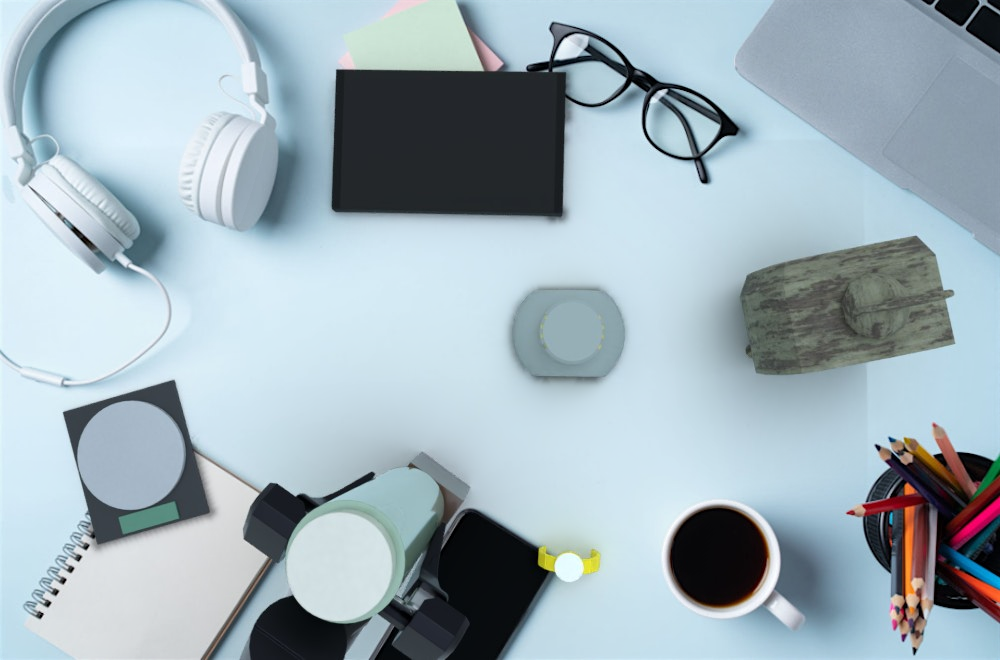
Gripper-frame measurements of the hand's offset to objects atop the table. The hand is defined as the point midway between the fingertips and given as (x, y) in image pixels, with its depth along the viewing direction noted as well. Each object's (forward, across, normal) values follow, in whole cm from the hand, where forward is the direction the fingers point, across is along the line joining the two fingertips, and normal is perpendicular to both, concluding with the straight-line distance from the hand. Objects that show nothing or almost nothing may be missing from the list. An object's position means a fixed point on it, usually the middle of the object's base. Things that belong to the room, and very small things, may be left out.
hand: (408, 499), depth 67 cm
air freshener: (+24, -4, -5) cm, 24 cm away
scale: (-2, +25, +20) cm, 33 cm away
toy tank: (+34, -22, -15) cm, 43 cm away
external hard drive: (+30, +17, -11) cm, 36 cm away
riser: (+9, -1, +10) cm, 13 cm away
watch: (+11, -16, +8) cm, 21 cm away
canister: (+1, 0, +3) cm, 3 cm away
